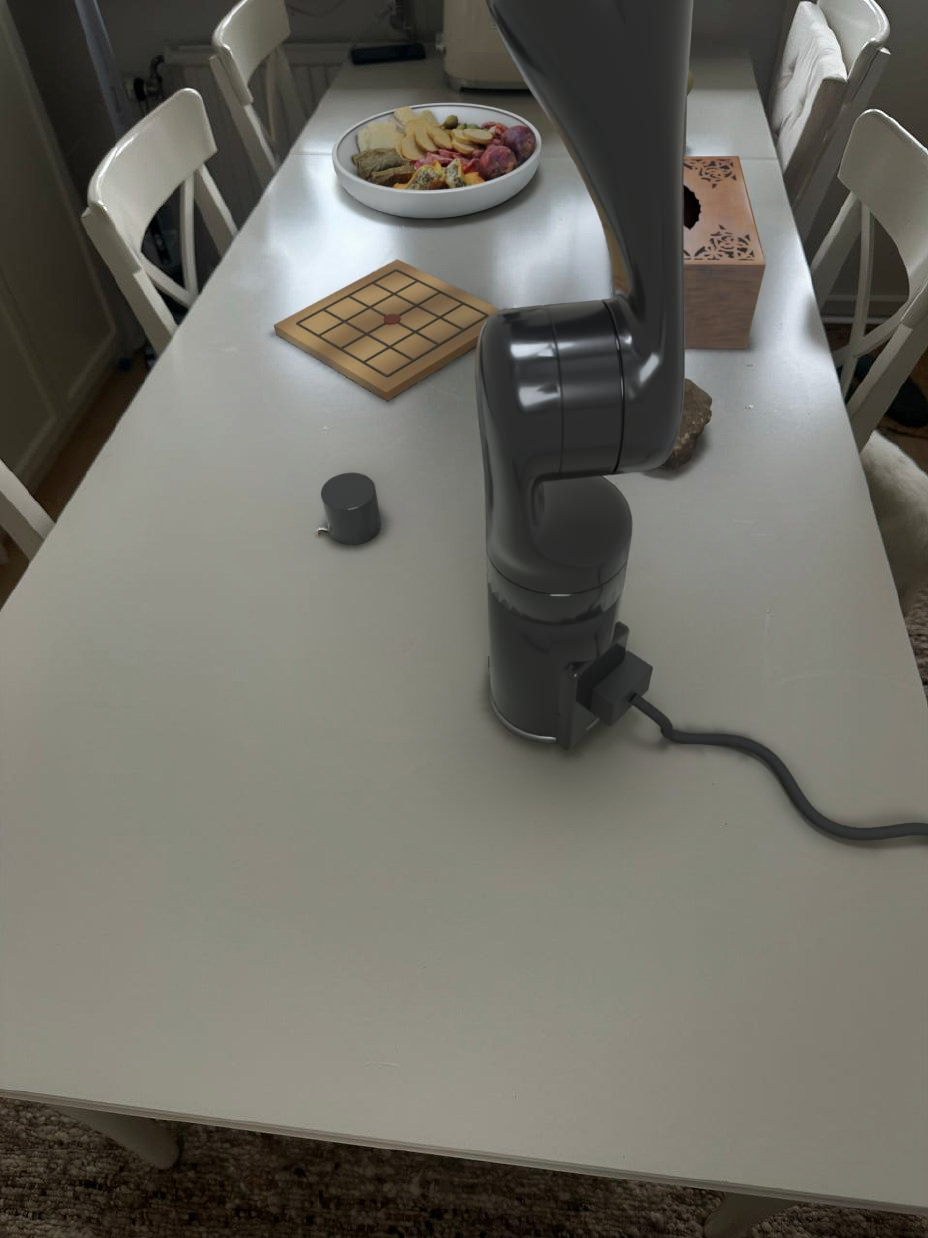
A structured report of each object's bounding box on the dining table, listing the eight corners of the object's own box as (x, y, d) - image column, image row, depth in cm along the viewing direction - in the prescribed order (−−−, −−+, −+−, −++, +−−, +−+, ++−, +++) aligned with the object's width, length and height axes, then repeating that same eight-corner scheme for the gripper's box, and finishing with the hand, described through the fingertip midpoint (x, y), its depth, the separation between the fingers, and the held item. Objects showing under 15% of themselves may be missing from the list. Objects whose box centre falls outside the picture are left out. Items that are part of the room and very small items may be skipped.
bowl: (312, 224, 120) (301, 165, 114) (365, 133, 139) (358, 79, 133) (525, 234, 116) (526, 173, 110) (551, 139, 134) (553, 83, 128)
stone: (675, 488, 84) (691, 440, 79) (546, 436, 88) (555, 387, 83) (710, 434, 90) (727, 386, 85) (588, 387, 93) (598, 339, 89)
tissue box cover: (612, 235, 115) (619, 156, 107) (723, 235, 113) (738, 155, 106) (616, 347, 98) (625, 263, 91) (745, 348, 97) (766, 264, 89)
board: (511, 323, 102) (511, 313, 101) (387, 401, 94) (385, 390, 93) (398, 267, 112) (397, 257, 111) (275, 333, 103) (273, 323, 102)
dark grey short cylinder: (392, 524, 82) (386, 489, 78) (352, 552, 80) (344, 517, 76) (357, 500, 84) (351, 464, 81) (318, 527, 82) (309, 491, 78)
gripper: (361, -155, 64) (380, 54, 79) (551, -170, 64) (534, 40, 79) (352, -218, 66) (373, -3, 81) (536, -232, 67) (522, -16, 82)
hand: (453, 18), depth 80 cm, fingers open, 8 cm apart
